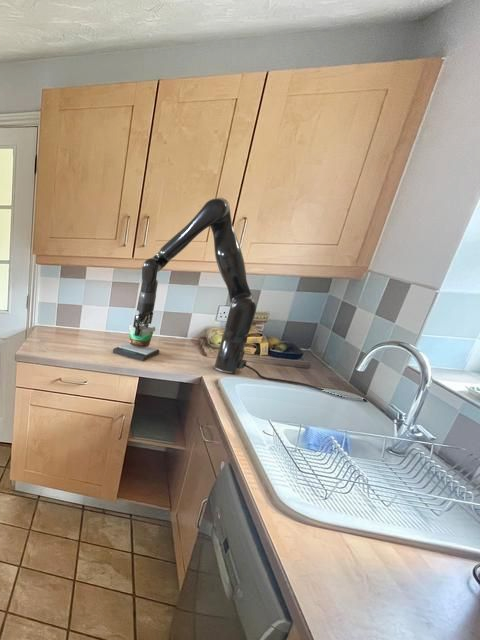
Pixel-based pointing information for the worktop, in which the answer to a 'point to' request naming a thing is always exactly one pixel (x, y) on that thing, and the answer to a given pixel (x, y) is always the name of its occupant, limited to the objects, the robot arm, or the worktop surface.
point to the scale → (136, 351)
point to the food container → (141, 336)
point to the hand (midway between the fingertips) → (140, 334)
